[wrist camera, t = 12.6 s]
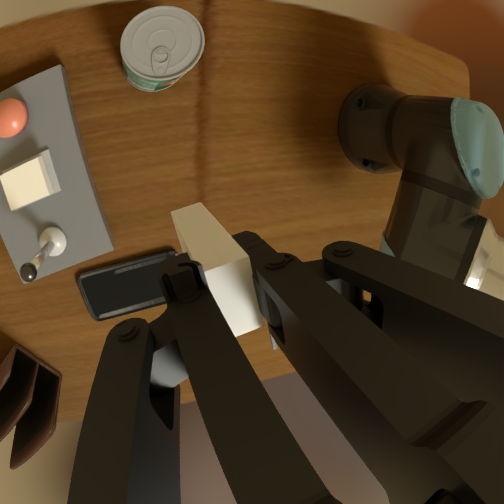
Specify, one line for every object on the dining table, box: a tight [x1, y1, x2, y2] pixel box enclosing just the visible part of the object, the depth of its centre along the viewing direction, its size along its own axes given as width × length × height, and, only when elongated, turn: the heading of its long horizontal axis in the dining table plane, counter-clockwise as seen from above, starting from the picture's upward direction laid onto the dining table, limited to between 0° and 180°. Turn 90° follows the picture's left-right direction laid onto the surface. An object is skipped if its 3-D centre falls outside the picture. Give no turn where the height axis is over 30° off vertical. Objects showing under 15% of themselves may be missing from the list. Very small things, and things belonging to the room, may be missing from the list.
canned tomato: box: [120, 6, 205, 92], centre depth 28 cm, size 8×8×11 cm
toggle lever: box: [20, 241, 55, 282], centre depth 29 cm, size 2×2×8 cm
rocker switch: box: [0, 156, 54, 211], centre depth 28 cm, size 6×4×2 cm
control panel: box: [0, 64, 115, 285], centre depth 31 cm, size 14×24×4 cm, turn 11°
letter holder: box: [0, 343, 62, 470], centre depth 35 cm, size 10×20×14 cm, turn 127°
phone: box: [78, 249, 178, 321], centre depth 43 cm, size 8×1×15 cm
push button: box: [0, 98, 29, 138], centre depth 26 cm, size 4×4×5 cm
